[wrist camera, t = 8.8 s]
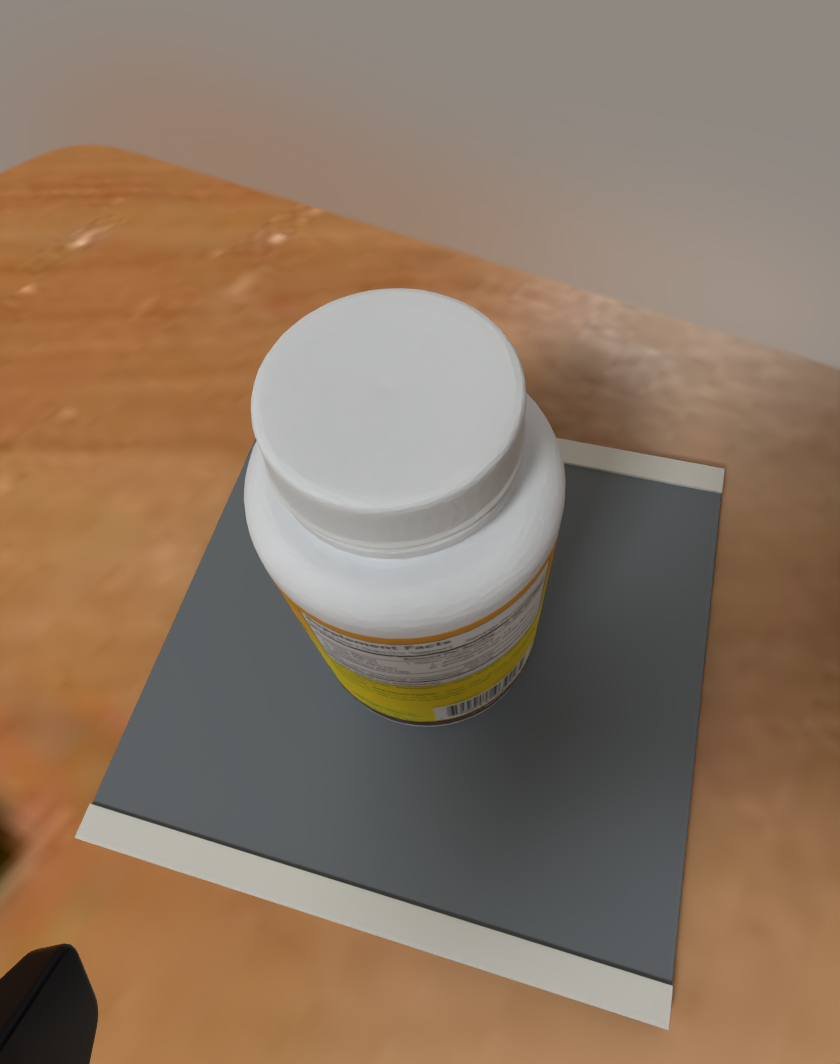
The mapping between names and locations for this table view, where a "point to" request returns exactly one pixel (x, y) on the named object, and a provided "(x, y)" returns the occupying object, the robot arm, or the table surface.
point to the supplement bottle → (406, 499)
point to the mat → (451, 755)
